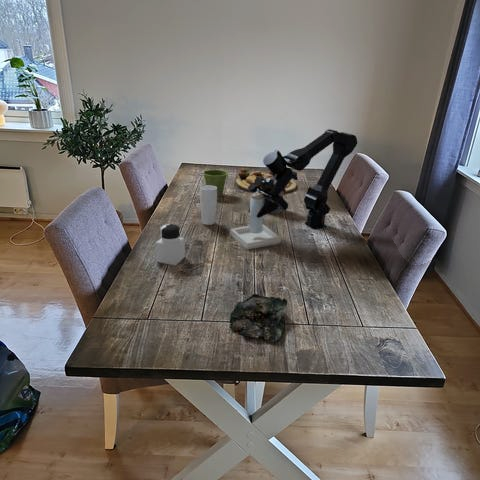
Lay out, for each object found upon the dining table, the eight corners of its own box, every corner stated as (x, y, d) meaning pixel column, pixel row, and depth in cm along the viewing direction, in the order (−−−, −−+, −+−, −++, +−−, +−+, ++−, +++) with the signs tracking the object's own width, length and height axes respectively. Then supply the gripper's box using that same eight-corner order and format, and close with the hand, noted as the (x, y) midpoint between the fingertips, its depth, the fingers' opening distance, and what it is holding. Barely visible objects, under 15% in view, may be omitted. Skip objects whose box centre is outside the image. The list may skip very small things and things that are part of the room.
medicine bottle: (185, 257, 143) (184, 224, 138) (175, 266, 137) (174, 231, 132) (166, 253, 145) (165, 220, 140) (156, 262, 139) (154, 228, 134)
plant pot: (232, 194, 206) (232, 172, 202) (218, 200, 197) (218, 177, 193) (212, 190, 212) (212, 167, 207) (197, 195, 203) (197, 172, 198)
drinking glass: (214, 227, 168) (214, 190, 162) (197, 225, 169) (197, 189, 163) (218, 221, 174) (219, 185, 168) (202, 219, 175) (202, 184, 169)
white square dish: (261, 229, 168) (262, 223, 166) (280, 243, 156) (281, 237, 155) (229, 235, 162) (230, 229, 161) (246, 249, 150) (247, 243, 149)
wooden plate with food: (223, 186, 220) (223, 170, 216) (257, 173, 243) (258, 159, 240) (275, 201, 203) (277, 184, 200) (307, 185, 227) (308, 170, 223)
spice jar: (261, 228, 160) (263, 192, 154) (262, 233, 155) (264, 196, 150) (248, 228, 160) (250, 192, 154) (249, 233, 155) (250, 196, 149)
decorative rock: (293, 332, 101) (230, 327, 100) (288, 352, 104) (227, 347, 103) (285, 287, 118) (231, 282, 117) (281, 305, 121) (229, 300, 120)
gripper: (253, 162, 157) (227, 194, 156) (284, 174, 143) (255, 210, 142) (269, 180, 164) (244, 211, 163) (300, 193, 150) (273, 228, 149)
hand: (253, 214), depth 154 cm, fingers closed on spice jar, 5 cm apart
